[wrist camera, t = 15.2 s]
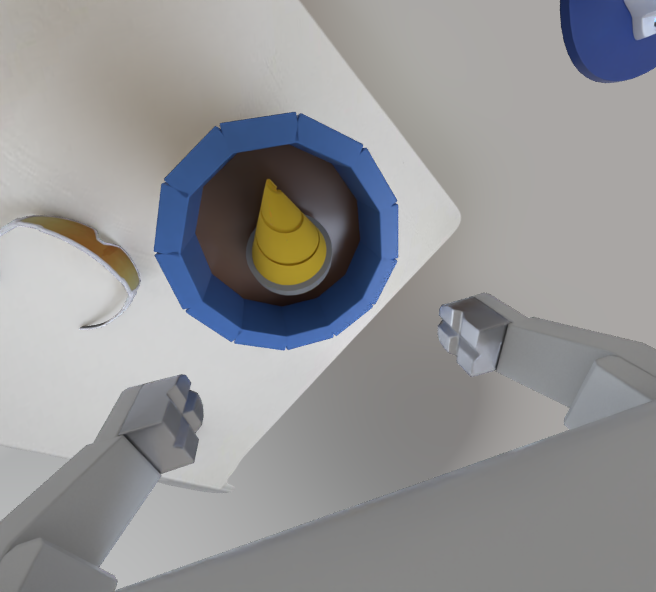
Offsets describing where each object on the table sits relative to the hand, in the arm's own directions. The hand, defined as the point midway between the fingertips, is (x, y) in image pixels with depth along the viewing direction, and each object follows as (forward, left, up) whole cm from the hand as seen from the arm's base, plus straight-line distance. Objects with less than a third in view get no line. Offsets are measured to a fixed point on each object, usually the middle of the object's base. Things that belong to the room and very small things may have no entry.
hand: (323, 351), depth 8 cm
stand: (0, 0, -32) cm, 32 cm away
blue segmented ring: (0, 0, -12) cm, 12 cm away
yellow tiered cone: (+1, -1, -12) cm, 12 cm away
